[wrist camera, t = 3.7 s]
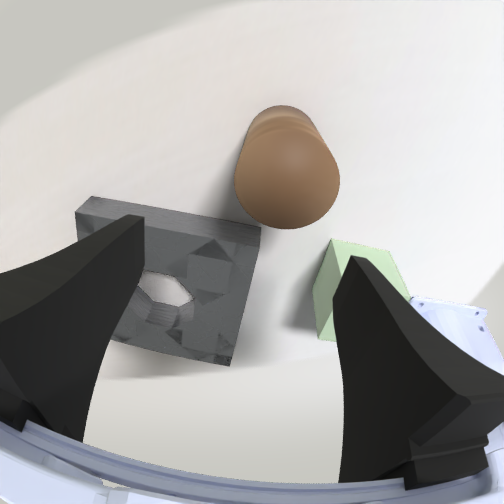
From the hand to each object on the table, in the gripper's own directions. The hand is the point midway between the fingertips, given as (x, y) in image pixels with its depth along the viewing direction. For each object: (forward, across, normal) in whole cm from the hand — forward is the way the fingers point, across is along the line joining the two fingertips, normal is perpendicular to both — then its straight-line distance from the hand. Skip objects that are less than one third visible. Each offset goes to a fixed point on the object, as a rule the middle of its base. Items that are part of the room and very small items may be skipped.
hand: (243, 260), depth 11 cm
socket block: (+9, +5, +10) cm, 15 cm away
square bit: (+10, -8, +6) cm, 14 cm away
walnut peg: (+9, -1, -2) cm, 10 cm away
